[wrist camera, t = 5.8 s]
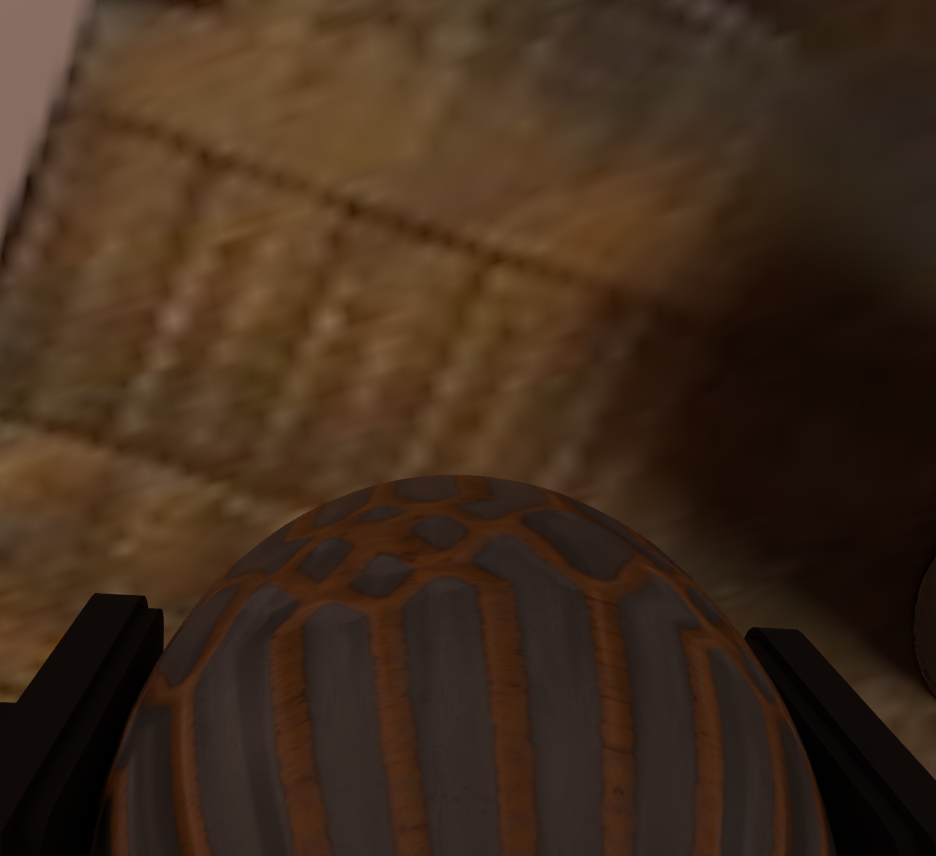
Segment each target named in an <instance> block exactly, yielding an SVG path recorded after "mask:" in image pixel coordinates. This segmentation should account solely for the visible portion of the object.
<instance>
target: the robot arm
mask: <svg viewBox="0 0 936 856" xmlns="http://www.w3.org/2000/svg"><path fill="white" fill-rule="evenodd" d="M744 640H745V641H746V642H747V644H748V645H749V647H750V648H751V650H752V651H753V653H754V654H755V656H756V657H757V659H758V660H759V662H760V663H761V665H762V666H763V668H764V669H765V671H766V672H767V674H768V675H769V677H770V678H771V680H772V681H773V683H774V685H775V687H776V688H777V690H778V692H779V694H780V696H781V697H782V699H783V701H784V703H785V705H786V707H787V709H788V712H789V714H790V716H791V718H792V720H793V722H794V724H795V726H796V729H797V731H798V733H799V735H800V738H801V740H802V742H803V745H804V747H805V749H806V751H807V754H808V757H809V760H810V763H811V766H812V769H813V772H814V775H815V778H816V781H817V783H818V787H819V790H820V793H821V796H822V799H823V802H824V805H825V808H826V812H827V816H828V820H829V824H830V828H831V832H832V836H833V840H834V844H835V848H836V853H837V856H936V780H935V779H934V778H933V777H932V776H931V775H930V774H929V773H928V771H927V770H926V769H925V768H924V767H923V766H922V765H921V764H920V763H919V762H918V760H917V759H916V758H915V757H914V756H913V755H912V754H911V753H910V752H909V750H908V749H907V748H906V747H905V746H904V745H903V744H902V743H901V742H900V741H899V739H898V738H897V737H896V736H895V735H894V734H893V733H892V732H891V731H890V730H889V728H888V727H887V726H886V725H885V724H884V723H883V722H882V721H881V720H880V718H879V717H878V716H877V715H876V714H875V713H874V712H873V711H872V710H871V709H870V707H869V706H868V705H867V704H866V703H865V702H864V701H863V700H862V699H861V698H860V696H859V695H858V694H857V693H856V692H855V691H854V690H853V689H852V688H851V686H850V685H849V684H848V683H847V682H846V681H845V680H844V679H843V678H842V677H841V675H840V674H839V673H838V672H837V671H836V670H835V669H834V668H833V667H832V665H831V664H830V663H829V662H828V661H827V660H826V659H825V658H824V657H823V656H822V654H821V653H820V652H819V651H818V650H817V649H816V648H815V647H814V646H813V645H812V643H811V642H810V641H809V640H808V639H807V638H806V637H805V636H804V635H803V633H801V632H800V631H799V630H795V629H776V628H756V627H753V628H751V629H750V630H749V631H748V632H747V634H746V636H745V638H744ZM163 641H164V616H163V611H162V609H154V608H148V603H147V599H146V597H145V596H138V595H119V594H99V593H95V594H94V595H93V596H92V597H91V598H90V600H89V601H88V602H87V604H86V605H85V607H84V608H83V609H82V611H81V612H80V614H79V615H78V616H77V618H76V619H75V621H74V622H73V623H72V625H71V626H70V628H69V629H68V631H67V632H66V633H65V635H64V636H63V638H62V639H61V640H60V642H59V643H58V645H57V646H56V647H55V649H54V650H53V652H52V653H51V654H50V656H49V657H48V659H47V660H46V661H45V663H44V664H43V666H42V667H41V669H40V670H39V671H38V673H37V674H36V676H35V677H34V678H33V680H32V681H31V683H30V684H29V685H28V687H27V688H26V690H25V691H24V692H23V694H22V695H21V697H20V698H19V700H18V701H17V702H16V703H9V702H1V703H0V856H87V851H88V846H89V840H90V835H91V829H92V825H93V821H94V816H95V812H96V808H97V804H98V800H99V796H100V793H101V789H102V785H103V782H104V778H105V775H106V771H107V768H108V766H109V763H110V761H111V758H112V755H113V753H114V750H115V748H116V745H117V743H118V740H119V738H120V735H121V733H122V730H123V728H124V726H125V723H126V721H127V718H128V716H129V714H130V712H131V710H132V708H133V706H134V704H135V702H136V700H137V698H138V696H139V694H140V692H141V690H142V688H143V686H144V684H145V683H146V681H147V679H148V677H149V675H150V674H151V672H152V670H153V668H154V666H155V664H156V663H157V661H158V660H159V658H160V656H161V655H162V653H163Z"/></svg>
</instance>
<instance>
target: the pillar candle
mask: <svg viewBox="0 0 936 856" xmlns="http://www.w3.org/2000/svg"><path fill="white" fill-rule="evenodd" d="M913 634H914V637H915V638H916V641H915V642H914V644H915V646H916V647H915V652H916V656H917V660H918V662H919V665H920V669H921V672H922V675H923V677H924V678H925V680H926V681H927V683H928V686H929V687H930V689H931V690H932V692H933V693H934V695H935V697H936V557H935V558H934V560H933V561H932V563H931V564H930V566H929V568H928V571H927V572H926V574H925V576H924V578H923V581H922V583H921V586H920V588H919V592H918V600H917V602H916V603H915V611H914V629H913Z"/></svg>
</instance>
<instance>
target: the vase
mask: <svg viewBox="0 0 936 856" xmlns="http://www.w3.org/2000/svg"><path fill="white" fill-rule="evenodd" d="M87 856H837V853H836V848H835V844H834V840H833V836H832V832H831V828H830V824H829V820H828V816H827V812H826V808H825V805H824V802H823V799H822V796H821V793H820V790H819V787H818V783H817V781H816V778H815V775H814V772H813V769H812V766H811V763H810V760H809V757H808V754H807V751H806V749H805V747H804V745H803V742H802V740H801V738H800V735H799V733H798V731H797V729H796V726H795V724H794V722H793V720H792V718H791V716H790V714H789V712H788V709H787V707H786V705H785V703H784V701H783V699H782V697H781V696H780V694H779V692H778V690H777V688H776V687H775V685H774V683H773V681H772V680H771V678H770V677H769V675H768V674H767V672H766V671H765V669H764V668H763V666H762V665H761V663H760V662H759V660H758V659H757V657H756V656H755V654H754V653H753V651H752V650H751V648H750V647H749V645H748V644H747V642H746V641H745V640H744V638H743V637H742V635H741V634H740V633H739V632H738V630H737V629H736V628H735V627H734V625H733V624H732V623H731V622H730V621H729V619H728V618H727V617H726V616H725V615H724V613H723V612H722V611H721V610H720V609H719V607H718V606H717V605H716V604H715V603H714V602H713V600H712V599H711V598H710V597H709V596H708V595H707V593H706V592H705V591H704V590H703V589H702V588H701V587H700V586H699V585H698V584H697V583H696V582H695V581H694V580H693V579H692V578H691V577H690V576H689V575H688V574H687V573H685V572H684V571H683V570H682V569H681V568H680V567H679V566H678V565H677V564H676V563H675V562H674V561H673V560H672V559H670V558H669V557H668V556H667V555H666V554H665V553H663V552H662V551H661V550H660V549H659V548H658V547H656V546H655V545H654V544H653V543H651V542H650V541H648V540H647V539H646V538H644V537H643V536H641V535H640V534H639V533H637V532H636V531H634V530H632V529H631V528H629V527H627V526H626V525H624V524H622V523H621V522H619V521H617V520H616V519H614V518H612V517H610V516H608V515H606V514H604V513H603V512H601V511H599V510H597V509H595V508H593V507H591V506H589V505H586V504H584V503H582V502H580V501H578V500H576V499H573V498H571V497H568V496H565V495H563V494H560V493H558V492H555V491H551V490H548V489H545V488H542V487H538V486H535V485H530V484H526V483H521V482H517V481H512V480H506V479H499V478H492V477H485V476H472V475H434V476H422V477H414V478H408V479H401V480H396V481H391V482H387V483H383V484H379V485H375V486H372V487H368V488H365V489H362V490H359V491H356V492H353V493H351V494H348V495H346V496H343V497H340V498H338V499H335V500H333V501H330V502H328V503H326V504H324V505H322V506H319V507H317V508H315V509H313V510H311V511H309V512H307V513H305V514H303V515H302V516H300V517H298V518H297V519H295V520H293V521H291V522H290V523H288V524H286V525H285V526H283V527H282V528H280V529H279V530H277V531H276V532H275V533H273V534H272V535H270V536H269V537H267V538H266V539H265V540H263V541H262V542H261V543H260V544H259V545H257V546H256V547H255V548H254V549H252V550H251V551H250V552H249V553H248V554H246V555H245V556H244V557H243V558H242V559H240V560H239V561H238V562H237V563H236V564H234V565H233V566H232V567H231V568H230V569H229V570H228V571H227V572H226V573H225V574H224V575H223V576H222V577H221V578H220V579H219V580H218V581H217V582H216V583H214V585H213V586H212V587H211V588H210V589H209V590H208V591H207V593H206V594H205V595H204V596H203V597H202V598H201V599H200V601H199V602H198V603H197V604H196V606H195V607H194V608H193V610H192V611H191V612H190V614H189V615H188V616H187V618H186V619H185V620H184V622H183V623H182V625H181V626H180V628H179V629H178V630H177V632H176V633H175V635H174V636H173V638H172V639H171V640H170V642H169V643H168V645H167V647H166V648H165V650H164V651H163V653H162V655H161V656H160V658H159V660H158V661H157V663H156V664H155V666H154V668H153V670H152V672H151V674H150V675H149V677H148V679H147V681H146V683H145V684H144V686H143V688H142V690H141V692H140V694H139V696H138V698H137V700H136V702H135V704H134V706H133V708H132V710H131V712H130V714H129V716H128V718H127V721H126V723H125V726H124V728H123V730H122V733H121V735H120V738H119V740H118V743H117V745H116V748H115V750H114V753H113V755H112V758H111V761H110V763H109V766H108V768H107V771H106V775H105V778H104V782H103V785H102V789H101V793H100V796H99V800H98V804H97V808H96V812H95V816H94V821H93V825H92V829H91V835H90V840H89V846H88V851H87Z"/></svg>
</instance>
